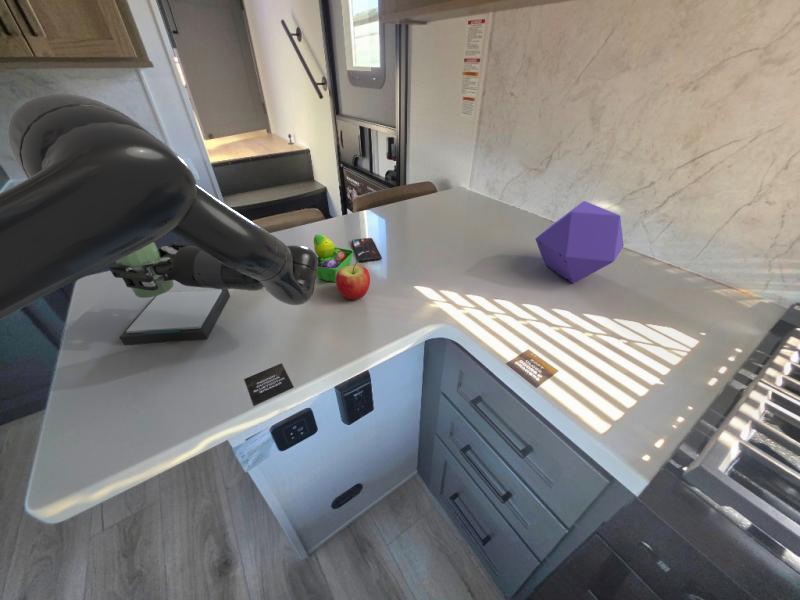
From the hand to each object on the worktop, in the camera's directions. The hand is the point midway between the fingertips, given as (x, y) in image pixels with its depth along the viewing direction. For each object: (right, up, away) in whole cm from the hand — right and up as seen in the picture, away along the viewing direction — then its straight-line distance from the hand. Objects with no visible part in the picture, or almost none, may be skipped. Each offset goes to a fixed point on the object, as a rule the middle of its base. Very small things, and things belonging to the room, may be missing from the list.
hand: (130, 261), depth 60 cm
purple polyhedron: (+101, +1, +33) cm, 106 cm away
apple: (+40, -7, +21) cm, 45 cm away
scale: (+2, -12, +12) cm, 17 cm away
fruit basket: (+32, 0, +30) cm, 44 cm away
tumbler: (+2, -5, +3) cm, 6 cm away
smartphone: (+41, +8, +41) cm, 58 cm away
